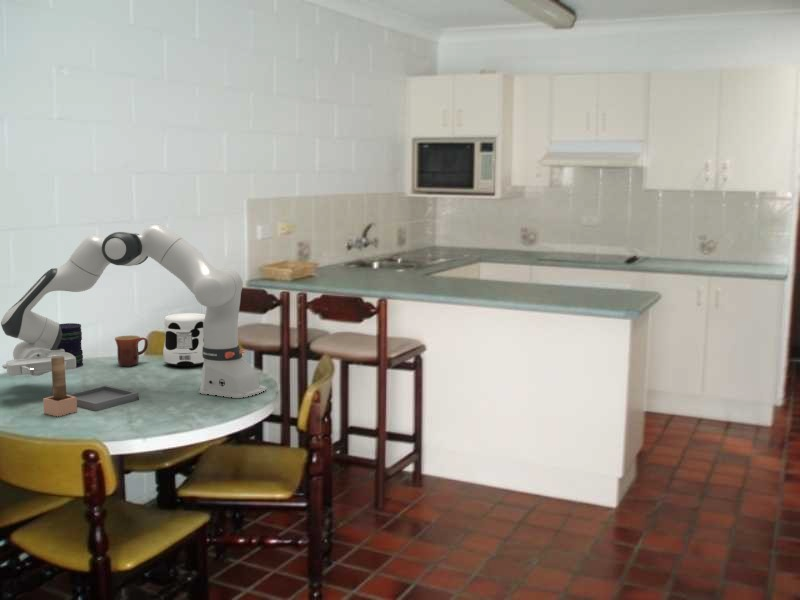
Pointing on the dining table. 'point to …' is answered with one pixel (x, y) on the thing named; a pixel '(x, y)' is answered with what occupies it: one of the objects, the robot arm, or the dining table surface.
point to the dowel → (58, 378)
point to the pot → (60, 406)
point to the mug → (129, 349)
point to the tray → (104, 397)
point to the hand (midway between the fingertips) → (47, 369)
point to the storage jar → (72, 341)
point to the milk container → (184, 339)
